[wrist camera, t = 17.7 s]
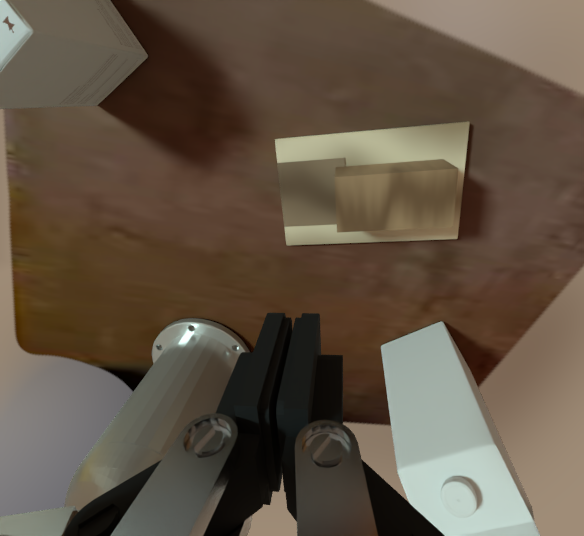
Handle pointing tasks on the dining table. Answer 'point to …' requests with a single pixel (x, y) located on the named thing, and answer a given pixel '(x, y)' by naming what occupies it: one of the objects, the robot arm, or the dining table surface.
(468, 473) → the milk carton
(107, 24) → the supplement box
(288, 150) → the board
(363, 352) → the dining table surface
